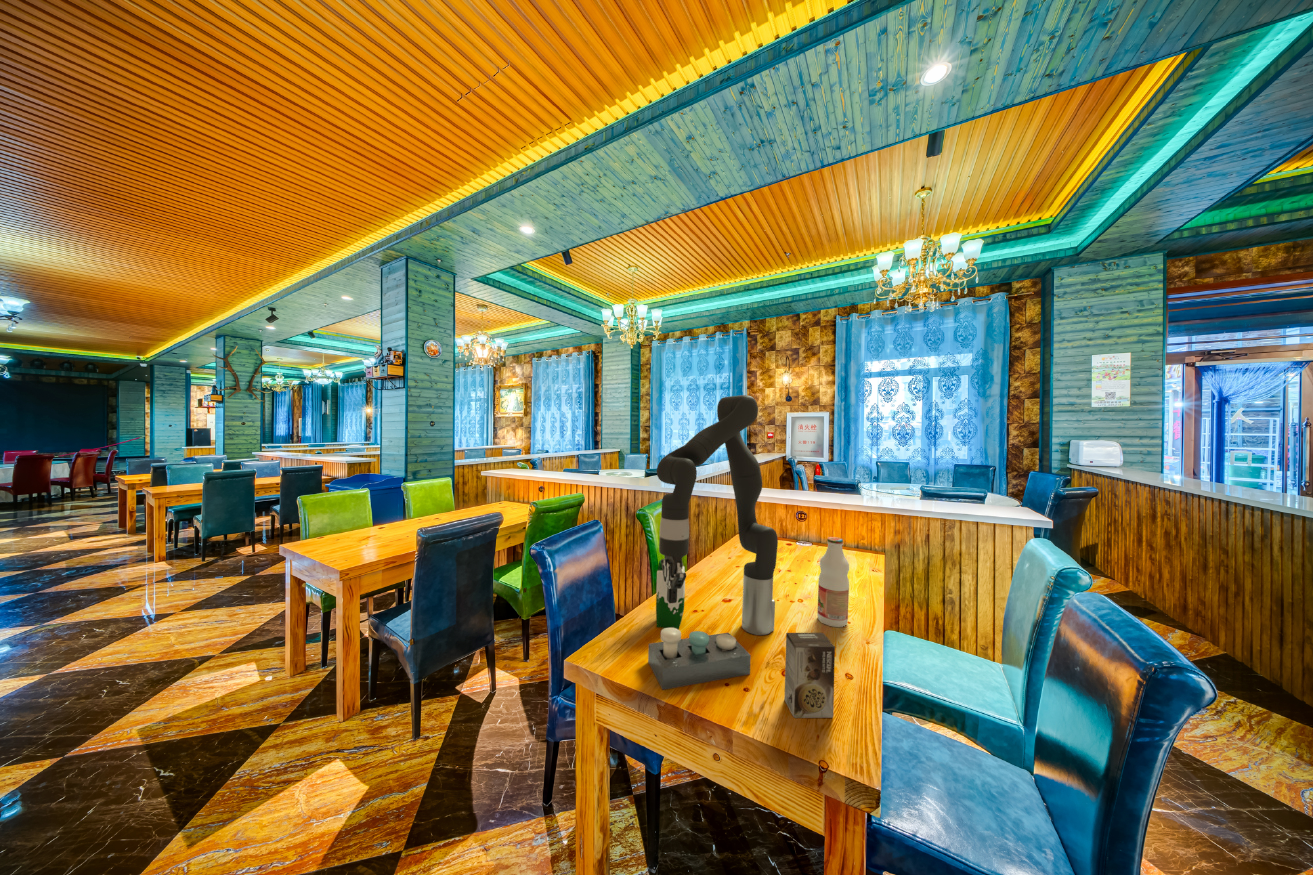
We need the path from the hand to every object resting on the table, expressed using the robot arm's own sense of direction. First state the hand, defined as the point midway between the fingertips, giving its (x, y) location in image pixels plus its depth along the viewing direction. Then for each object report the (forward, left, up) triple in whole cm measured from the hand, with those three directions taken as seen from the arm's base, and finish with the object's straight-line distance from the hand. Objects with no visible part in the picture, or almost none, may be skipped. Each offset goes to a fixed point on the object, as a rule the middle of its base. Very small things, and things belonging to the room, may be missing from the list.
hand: (671, 601), depth 103 cm
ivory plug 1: (0, 0, -14) cm, 14 cm away
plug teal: (-8, 0, -16) cm, 18 cm away
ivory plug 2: (-16, 0, -18) cm, 24 cm away
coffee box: (-26, +21, -19) cm, 38 cm away
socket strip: (-8, 0, -19) cm, 20 cm away
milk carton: (-9, -25, -19) cm, 32 cm away
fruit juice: (-63, -13, -19) cm, 67 cm away
